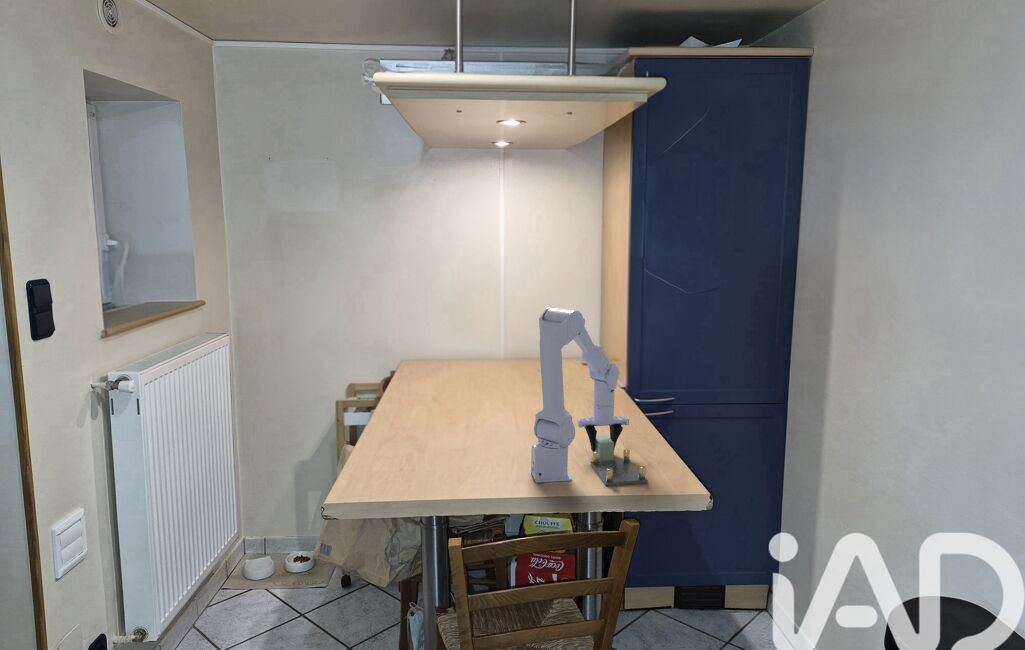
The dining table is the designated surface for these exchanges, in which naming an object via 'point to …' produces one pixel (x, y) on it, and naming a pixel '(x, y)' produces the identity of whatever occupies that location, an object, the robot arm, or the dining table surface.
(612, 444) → the board block
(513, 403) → the dining table surface
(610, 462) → the plate
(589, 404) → the dining table surface
